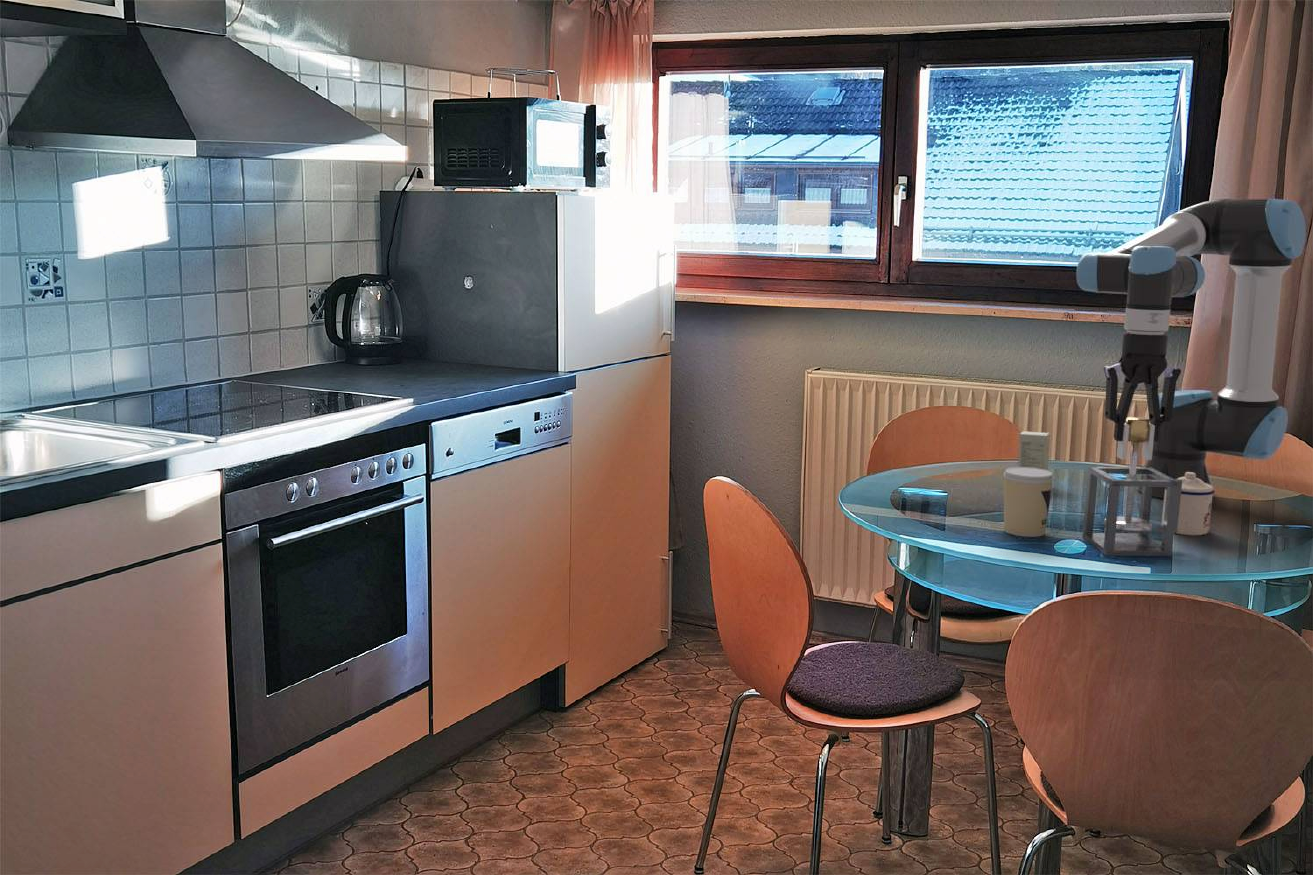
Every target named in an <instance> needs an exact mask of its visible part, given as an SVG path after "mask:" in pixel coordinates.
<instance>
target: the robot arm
mask: <svg viewBox="0 0 1313 875" xmlns="http://www.w3.org/2000/svg"><path fill="white" fill-rule="evenodd" d="M1306 230H1307V228H1306V221H1305V217H1304V212H1303V211H1302V209H1301V207H1300V205H1298V204H1297V203H1296V202H1295V201H1294V200H1290V199H1278V198H1251V199H1249V198H1243V199H1242V198H1238V199H1237V198H1233V199H1232V198H1230V199H1229V198H1218V199H1217V198H1216V199H1212V200H1208V201H1203V202H1200V203H1197V204H1193V205H1191V206H1189V207H1186V208H1183V209H1181V210H1179V211H1177V212H1175V213H1173V214H1171V215H1169V216H1168V217H1166V218H1165V220H1164V221H1163V222H1162V224H1161V225H1160V226H1157V227H1156V228H1154V229H1152V230H1150V231H1148V232H1146V233H1144V234H1142V235H1140V236H1139V237H1136V238H1135V239H1133V240H1130V241H1129V242H1126V243H1125V244H1122V245H1120V246H1119V247H1117V248H1115V249H1113V250H1110V251H1109V252H1105V253H1103V252H1088V253H1085V254H1083V255H1082V256H1081V257H1080V259H1079V261H1078V263H1077V266H1076V272H1075V274H1076V282H1077V285H1078V287H1079V288H1080V289H1081V290H1083V291H1084V292H1085V291H1086V292H1091V293H1092V292H1093V293H1097V294H1099V293H1100V294H1101V293H1103V294H1117V295H1119V294H1120V295H1122V294H1123V295H1127V297H1126V305H1125V314H1124V323H1123V329H1125V330H1126V331H1125V332H1124V334H1122V345H1121V346H1122V347H1121V356H1120V359H1119V360H1118V363H1116V364H1113V365H1105V366H1104V367H1103V372H1104V374H1105V377H1106V378H1105V379H1106V384H1105V385H1106V386H1105V400H1104V402H1105V404H1104V405H1105V406H1104V417H1105V418H1106V419H1107V420H1109V421H1112V422H1113V423H1114V428H1113V439H1114V441H1117V446H1116V457H1117V458H1118V459H1120V460H1122V461H1126V460H1127V453H1128V447H1129V446H1128V444H1129V441H1128V435H1129V425H1128V424H1126V419H1127V417H1128V415H1129V412H1130V408H1131V405H1132V401H1133V399H1134V395H1135V391H1136V389H1137V388H1138V386H1139V384H1143V385H1144V388H1145V394H1146V401H1147V402H1146V404H1147V410H1148V412H1147V413H1148V419H1149V429H1148V440H1147V442H1142V450H1141V458H1142V459H1144V460H1146V463H1145V464H1144V467H1151V468H1153V469H1155V470H1157V471H1159V472H1161V473H1163V474H1165V475H1167V476H1169V477H1171V478H1173V479H1178V478H1180V477H1185V473H1186V472H1193V473H1195V474H1196V477H1195V478H1198V479H1200V480H1202V481H1203V482H1204V483H1207V484H1209V485H1211V486H1212V484H1211V480H1210V476H1209V472H1208V468H1207V463H1206V461H1207V460H1206V458H1207V453H1211V454H1218V455H1219V454H1220V455H1224V456H1225V455H1226V456H1231V457H1239V458H1243V459H1246V460H1248V459H1251V460H1252V459H1253V460H1261V461H1262V460H1267V459H1270V458H1272V456H1273V455H1274V454H1275V453H1276V452H1277V451H1278V449H1279V448H1280V446H1281V444H1282V442H1283V440H1284V437H1285V434H1286V431H1287V428H1288V422H1289V415H1288V410H1287V408H1285V407H1284V406H1281V405H1279V397H1280V396H1279V395H1278V393H1276V392H1275V390H1273V388H1272V387H1273V378H1274V377H1273V375H1274V367H1275V366H1274V365H1275V358H1276V357H1275V355H1276V345H1277V344H1276V343H1277V336H1278V335H1277V334H1278V333H1277V332H1278V322H1279V314H1280V302H1281V301H1280V300H1281V292H1282V283H1283V282H1282V280H1283V274H1285V272H1287V271H1288V270H1289V269H1290V268H1291V267H1292V264H1293V262H1292V261H1293V260H1294V259H1297V258H1298V257H1300V256H1301V255H1302V253H1303V252H1304V246H1305V245H1306V238H1307V237H1306V236H1307V231H1306ZM1195 255H1217V256H1228V257H1229V259H1228V261H1229V262H1228V266H1229V267H1230V268H1231V269H1232V270H1233V272H1234V274H1235V283H1234V294H1233V295H1234V296H1233V307H1232V317H1231V318H1232V319H1231V329H1230V331H1231V332H1230V339H1229V340H1230V342H1229V353H1228V354H1229V355H1228V363H1227V364H1228V365H1227V377H1226V385H1225V387H1224V388H1222V389H1221V390H1220V391H1218V393H1217V398H1214V394H1213V391H1211V390H1205V389H1190V390H1187V389H1186V390H1176V388H1177V381H1178V380H1179V377H1180V375H1181V373H1182V370H1181V369H1180V368H1179V367H1175V366H1172V365H1169V364H1168V360H1167V358H1166V355H1167V350H1168V349H1167V348H1168V341H1169V340H1168V338H1169V337H1168V334H1166V332H1168V331H1169V328H1170V317H1171V307H1172V298H1181V299H1182V298H1185V297H1188V296H1191V295H1193V294H1196V292H1198V291H1199V290H1200V289H1201V288H1202V286H1203V285H1204V282H1205V278H1206V273H1205V269H1204V267H1203V264H1202V263H1201V262H1200V261H1199V260H1198V259H1197V258H1195V257H1192V256H1195ZM1120 372H1122V374H1123V375H1124V379H1123V383H1122V384H1123V388H1122V391H1121V394H1120V397H1119V400H1118V391H1119V390H1118V388H1119V378H1118V377H1119V376H1120ZM1163 373H1164V374H1163ZM1162 374H1163V376H1164V380H1163V386H1162V392H1161V393H1159V378H1160V376H1161V375H1162ZM1139 475H1140V476H1139V477H1138V479H1137V480H1143V474H1139ZM1153 480H1157V479H1155V478H1154V479H1153ZM1136 488H1137V491H1138V492H1139V493H1140V494H1142V487H1136ZM1164 495H1165V488H1164V487H1153V490H1152V497H1154V498H1158V499H1164Z"/></svg>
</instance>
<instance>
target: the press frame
mask: <svg viewBox="0 0 1313 875" xmlns="http://www.w3.org/2000/svg"><path fill="white" fill-rule="evenodd" d="M1129 469H1130V466H1088V472H1087V480H1086V482H1087V483H1086V492H1085V494H1086V495H1085V506H1084V518H1083V529H1082V539H1083V540H1085V541H1087V542H1088V543H1089V544H1090V545H1092V546H1093V547H1094V548H1095V549H1096V550H1098V551H1099V552H1101V553H1102V554H1104V555H1105V557H1106V556H1108V557H1109V556H1110V557H1111V556H1112V557H1115V556H1117V557H1123V556H1124V557H1172V554H1173V544H1174V534H1176V533H1177V528H1178V518H1179V508H1180V499H1181V489H1182V480H1180V479H1173V478H1171V477H1169V476H1167V475H1165V474H1163V473H1161V472H1159V471H1157V470H1155V469H1153V468H1151V467H1139V466H1137V469H1136V475H1141V474H1143V480H1138V479H1136V480H1132V479H1129V478H1128V479H1123V478H1122V479H1121V478H1120V479H1119V478H1116V477H1114V476H1112V475H1129ZM1111 474H1112V475H1111ZM1154 478H1155V479H1157V480H1153V479H1154ZM1099 479H1100V480H1101V481H1102V482H1104V483H1106V484H1107V485H1108V493H1107V495H1108V497H1107V503H1106V504H1107V506H1106V514H1105V515H1106V526H1105V525H1104V527H1105V528H1104V532H1094V526H1095V525H1094V524H1095V514H1096V505H1097V504H1096V503H1097V493H1098V481H1099ZM1121 487H1123V488H1124V487H1126V488H1128V487H1135V488H1137V487H1142V493H1141V496H1140V497H1141V498H1140V506H1139V507H1140V508H1139V517H1138V518H1139V519H1143V520H1146V521H1149V522H1150V520H1151V519H1150V518H1151V508H1152V497H1153V496H1152V490H1153V487H1167V493H1166V504H1165V514H1164V524H1163V525H1162V524H1156V525H1155V532H1157V533H1158V534H1159V533H1162V537H1161V542H1159V541H1157V540H1156V539H1154V538H1153V537H1151V536H1150V535H1149V531H1147V532H1117V530H1116V524H1117V516H1118V513H1119V512H1118V511H1119V500H1120V489H1121Z"/></svg>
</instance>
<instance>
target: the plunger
mask: <svg viewBox="0 0 1313 875" xmlns="http://www.w3.org/2000/svg"><path fill="white" fill-rule="evenodd" d="M1125 423H1126V424H1128V425H1129V435H1128V442H1131V450H1130V461H1129V467H1130V469H1129V474H1128V479H1132V480H1137V479H1136V478H1137V474H1136V469H1137V467H1138V466H1137V465H1138V458H1139V456H1138V455H1139V446H1140V443H1143V442H1147V440H1148V429H1149V423H1150V421H1149V418H1146V417H1141V416H1140V417H1138V416H1129V417H1128V416H1127V419H1126V422H1125ZM1135 488H1136V487H1127V492H1126V493H1127V494H1126V502H1125V504H1126V505H1125V513H1124V516H1123V515H1121V516H1120V515H1117V524H1116V531H1120V532H1124V533H1138V532H1147V531H1148V532H1151V531H1152V530H1153V529H1152V528H1153V523H1152V522H1150V521H1146V520H1143V519H1139V517H1138V518H1137V517H1133V513H1134V512H1133V509H1134V501H1135V490H1136V489H1135ZM1103 526H1104V527H1105V526H1106V518H1104V519H1103Z"/></svg>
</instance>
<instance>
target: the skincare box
mask: <svg viewBox="0 0 1313 875" xmlns="http://www.w3.org/2000/svg"><path fill="white" fill-rule="evenodd" d="M1050 434H1051V433H1050V432H1043V431H1042V432H1038V431H1025V430H1023V431H1021V432H1020V433H1019V435H1018V436H1019V437H1018V457H1017V461H1018V462H1017V467H1031V468H1039V469H1044V470H1048V471H1049V458H1050V457H1049V454H1050V438H1051V437H1050Z"/></svg>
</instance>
